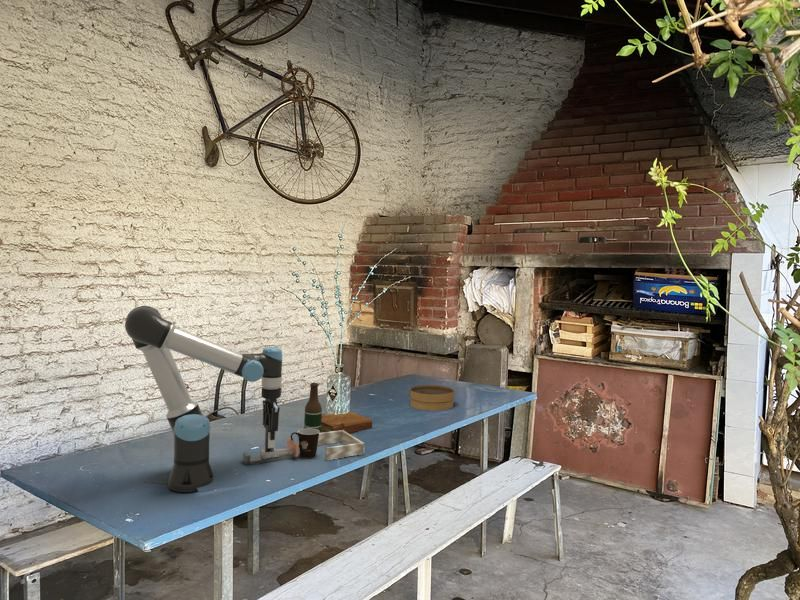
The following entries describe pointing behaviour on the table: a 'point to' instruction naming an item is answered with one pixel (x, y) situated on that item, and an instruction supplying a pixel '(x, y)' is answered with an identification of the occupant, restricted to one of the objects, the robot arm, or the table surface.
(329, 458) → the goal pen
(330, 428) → the diary
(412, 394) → the sieve
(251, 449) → the table surface
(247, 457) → the rail
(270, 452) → the rod carriage
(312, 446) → the coffee mug
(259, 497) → the table surface
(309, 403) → the beer bottle
